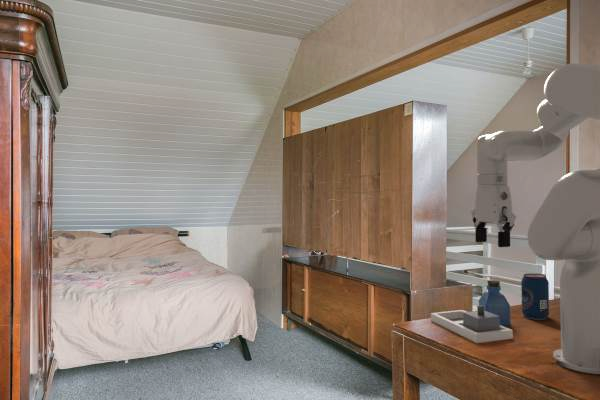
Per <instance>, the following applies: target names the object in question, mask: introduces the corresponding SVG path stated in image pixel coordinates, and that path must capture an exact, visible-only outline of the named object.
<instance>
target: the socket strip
mask: <svg viewBox="0 0 600 400" xmlns="http://www.w3.org/2000/svg"><path fill="white" fill-rule="evenodd" d="M463 312H468V311H466V310H464V309H459V310H458V309H457V310H449V311H448V310H447V311H439V312H431V313H430V321H431V322H433V323H435V324H437V325H439V326H442V327H443V328H445V329H447V330H448V331H451V332H453V333H455V334H457V335H459V336H462V337H463V338H466V339H467V340H469V341H471V342H474V343H475V344H480V343H487V342H488V343H489V342H495V341H503V340H510V339H511V340H513V339H514V334H513V329H511V328H509V327H506V326H505V325H500V330H496V331H488V332H479V333H477V332H475V331H473V330H470V329H468V328H466V327H464V326H463Z"/></svg>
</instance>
